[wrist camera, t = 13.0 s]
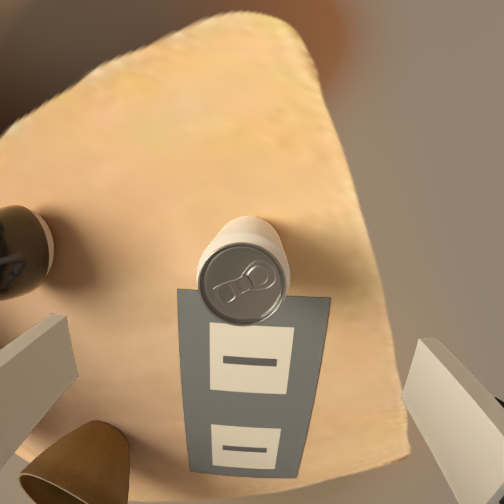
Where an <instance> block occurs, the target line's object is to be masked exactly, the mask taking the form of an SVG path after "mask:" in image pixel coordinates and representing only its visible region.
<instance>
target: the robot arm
mask: <svg viewBox="0 0 504 504" xmlns="http://www.w3.org/2000/svg"><path fill="white" fill-rule="evenodd" d="M77 377H78V372H77V368H76V363H75V359H74V354H73V349H72V344H71V339H70V334H69V328H68V322H67V316H64V315H59V314H53V313H51V314H50V315H48V316H47V317H45V318H44V319H42V320H41V321H40V322H38V323H37V324H35V325H34V326H33V327H31V328H30V329H28V330H27V331H26V332H24V333H23V334H21V335H20V336H19V337H17V338H16V339H14V340H13V341H12V342H10V343H9V344H8V345H6V346H5V347H4V348H2V349H1V350H0V470H1V469H2V468H3V466H4V465H5V464H6V463H7V461H8V460H9V459H10V458H11V456H12V455H13V454H14V452H15V451H16V450H17V449H18V447H19V446H20V445H21V444H22V442H23V441H24V440H25V439H26V438H27V436H28V435H29V434H30V433H31V431H32V430H33V429H34V428H35V427H36V425H37V424H38V423H39V422H40V420H41V419H42V418H43V417H44V416H45V414H46V413H47V412H48V411H49V410H50V408H51V407H52V406H53V405H54V404H55V403H56V401H57V400H58V399H59V398H60V397H61V396H62V394H63V393H64V392H65V391H66V390H67V389H68V387H69V386H70V385H71V384H72V383H73V382H74V380H75V379H76V378H77ZM401 399H402V401H403V403H404V404H405V406H406V408H407V410H408V411H409V413H410V415H411V417H412V418H413V420H414V422H415V424H416V425H417V427H418V429H419V431H420V432H421V434H422V436H423V438H424V440H425V441H426V443H427V445H428V447H429V449H430V450H431V452H432V454H433V456H434V458H435V460H436V461H437V463H438V465H439V467H440V469H441V471H442V473H443V474H444V476H445V478H446V480H447V482H448V484H449V486H450V488H451V490H452V492H453V493H454V496H455V498H456V499H457V502H458V503H459V504H498V503H500V504H504V402H503V401H501V400H499V399H498V398H496V397H495V398H494V397H493V396H492V395H491V394H490V393H489V392H488V391H487V390H486V388H484V386H483V385H482V384H481V383H480V382H479V381H478V380H477V379H476V378H475V377H474V376H473V375H472V374H471V373H470V372H469V371H468V370H467V369H466V368H465V367H464V366H463V365H462V363H461V362H460V361H459V360H458V359H457V358H456V357H454V355H452V353H451V352H450V351H449V350H448V349H447V348H446V347H445V346H444V345H443V344H442V343H441V342H439V341H438V340H437V338H435V337H433V338H419V340H418V343H417V347H416V351H415V354H414V358H413V361H412V365H411V368H410V371H409V375H408V378H407V381H406V384H405V387H404V390H403V393H402V396H401Z"/></svg>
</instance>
